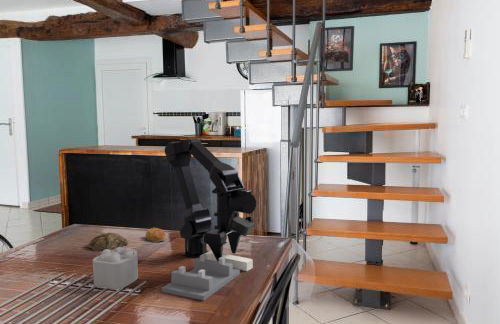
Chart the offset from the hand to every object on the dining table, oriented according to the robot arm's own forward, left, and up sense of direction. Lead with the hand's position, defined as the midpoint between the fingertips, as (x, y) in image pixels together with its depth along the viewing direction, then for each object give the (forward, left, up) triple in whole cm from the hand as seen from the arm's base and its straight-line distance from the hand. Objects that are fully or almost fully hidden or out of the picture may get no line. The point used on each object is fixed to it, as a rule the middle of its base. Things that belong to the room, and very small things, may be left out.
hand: (227, 257), depth 134 cm
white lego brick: (-23, -23, -3) cm, 33 cm away
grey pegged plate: (+1, -15, -2) cm, 15 cm away
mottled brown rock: (-49, 0, -3) cm, 49 cm away
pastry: (-38, +14, -3) cm, 41 cm away
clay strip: (0, 0, -3) cm, 3 cm away
